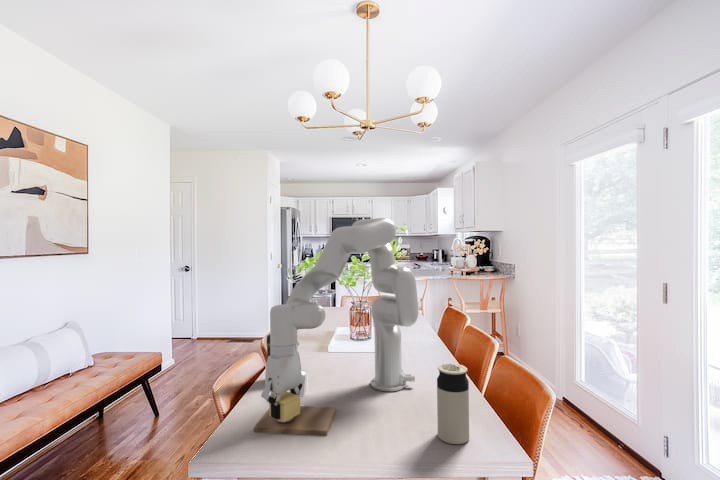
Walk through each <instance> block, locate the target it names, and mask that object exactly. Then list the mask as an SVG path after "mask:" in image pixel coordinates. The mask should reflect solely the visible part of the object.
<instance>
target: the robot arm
mask: <svg viewBox="0 0 720 480" xmlns="http://www.w3.org/2000/svg"><path fill="white" fill-rule="evenodd" d="M396 234H397V228H396V225H395V223H394V222H393V221H392V220H391V219H389V218H386V217H379V218H363V219H358V220H356V221H354V222H353V223H352V224H351V226H349V225H347V226H340V227H337V228H335V229H334V230H333V231H331V234H330V235H329V236H328V239H327V241H326V243H325V245H324V246H323V249H322V251H321V253H320V255H319V257H318V259H317V261H316V263H315V264H314V266H313V267H312V268H311V269H310V270H309V271H307V273H306V274H304V275H303V277H301V278H300V280H299V281H298V282H297V283H296V284H295V286H294V287H293V289H292V290H291V292H290V294H289V296H288V298H287V300H286V302H285V304H284V303H282V304H276V305H273V306H271V308H270V310H269V329H270V331H269V334H270V356H268V359H267V358H266V363H265V364H266V366H265V373H264V375H265V376H264V377H265V378H264V389H263V390H262V392H261V398H263V399H264V400H266V401H267V403H268V404H269V403H270V404H271V417H273V418H275V419H277V420H279V419H280V404H278V403H279V399H280V395H281V393H284V392H286V391H287V392H290V393H293V394H296V395H299V394H300V390H301V388H302V385H303V383H304V381H305V377H304V376H303V375H302V374H301V370H302V363H301V362H302V361H301V357H300V352H299V349H298V348H299V347H298V346H300V342H299V341H298V330H313V329H316V328H319V327H320V326H322V324H323V323H324V322H325V320H326V311H325V309H324V307H323V306H322V305H320V304H319V303H316V302H312V301H311V300H312V298H313V297H314V295H315V294H316V293H317V292H318V291H319V290H320V289H322V288H324V287H326V286H328V285H330V284H333V283H334V282H336V281H338V280H339V279H340V277H341V275H342V273H343V271H344V269H345V267H346V265H347V263H348V261H349V259H350V257H351V255H352V254H364V253H368V256H369V262H370V263H369V264H370V271H371V278H372V279H371V280H372V285H373V288H374V289H375V290H376V292H380V293H384V295H380V296H377V297H376V298H375V299H374V300H373V301H372V303H371V307H370V309H371V317H372V323H373V329H374V332H373V333H374V377H373V378H372V379H371V380H370V386H371V387H372V388H373V389H375V390H378V391H382V392H397V391H401V390H404V389H405V388H406V387H407V382H412V383H413V382H416V377H415V375H412V373H407V374H406V373H404V370H403V368H402V366H403V363H402V358H403V355H402V352H403V351H402V350H403V349H402V348H403V347H402V332H401V329H400V327H405V328H408V327H412V326H414V325H415V324H416V323H417V321H418V318H419V301H418V300H419V298H418V290H417V289H418V288H417V281H416V277H415V275H414V273H413V271H412V270H411V269H409V268H408V267H406V266H397V265H396V261H395V256H394V250H393V247H392V245H391V244H390V243H392V241H394V239H395V236H396ZM385 294H391V295H385ZM275 395H276V397H275V399H274V396H275Z"/></svg>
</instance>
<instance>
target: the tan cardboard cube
mask: <svg viewBox="0 0 720 480" xmlns="http://www.w3.org/2000/svg"><path fill="white" fill-rule="evenodd" d="M275 397H276V395H275V396H274V399H275ZM268 404H269V405H268V407H269V408H268V409H269V416H271V404H270V403H269V402H268ZM278 404H280V419H279V420H280V421H283V422H285V421H287V420H289V419H291V418H293V417H295V416H297V415H299V414H300V406H301V397H300V396H299V395H296V394H293V393H290V391H286V392H284V393H281V395H280V399H279V403H278Z"/></svg>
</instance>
